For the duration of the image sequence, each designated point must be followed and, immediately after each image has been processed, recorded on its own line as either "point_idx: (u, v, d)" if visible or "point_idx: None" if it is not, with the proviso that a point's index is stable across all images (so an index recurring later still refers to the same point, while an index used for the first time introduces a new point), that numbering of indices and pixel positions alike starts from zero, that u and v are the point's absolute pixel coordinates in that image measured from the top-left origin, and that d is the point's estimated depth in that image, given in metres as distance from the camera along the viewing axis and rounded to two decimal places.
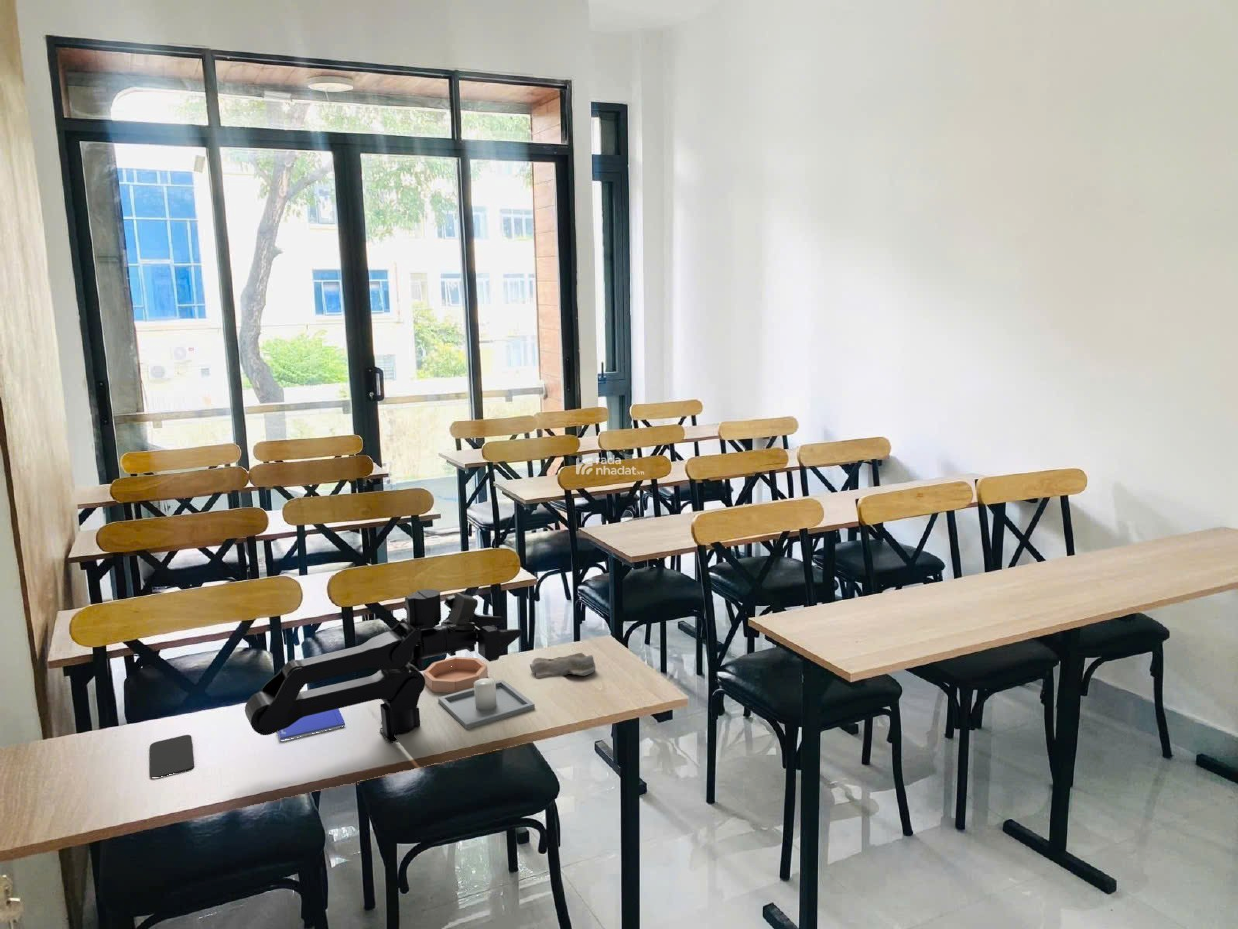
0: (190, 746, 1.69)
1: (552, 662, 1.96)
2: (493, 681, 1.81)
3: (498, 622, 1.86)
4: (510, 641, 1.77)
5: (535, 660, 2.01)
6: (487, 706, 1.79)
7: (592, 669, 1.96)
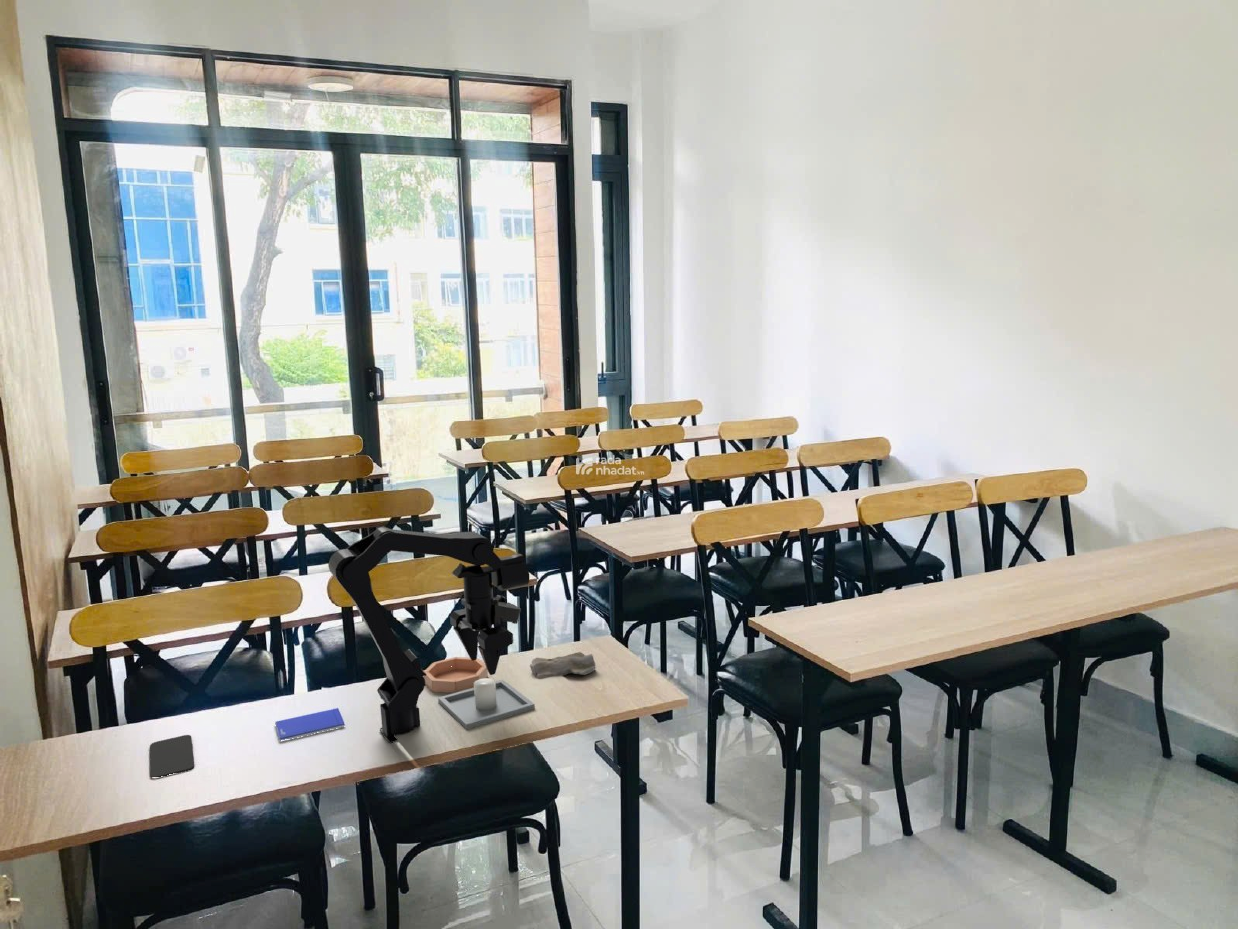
0: (190, 746, 1.69)
1: (552, 662, 1.96)
2: (493, 681, 1.81)
3: (472, 656, 1.83)
4: (488, 663, 1.74)
5: (534, 660, 2.00)
6: (487, 706, 1.79)
7: (592, 668, 1.97)
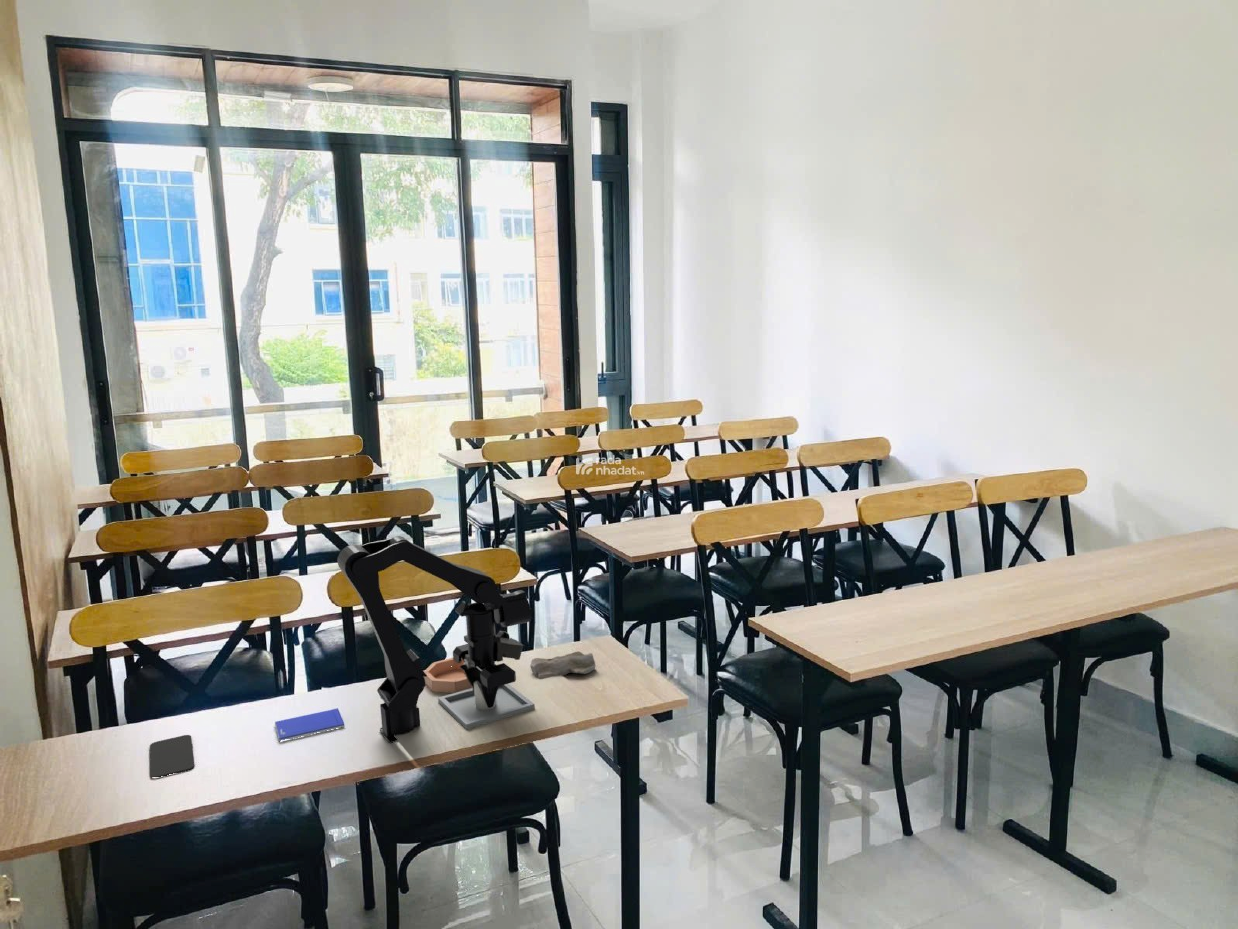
0: (190, 746, 1.69)
1: (553, 662, 1.96)
2: None
3: None
4: (486, 696, 1.77)
5: (534, 660, 2.00)
6: None
7: (593, 667, 1.97)
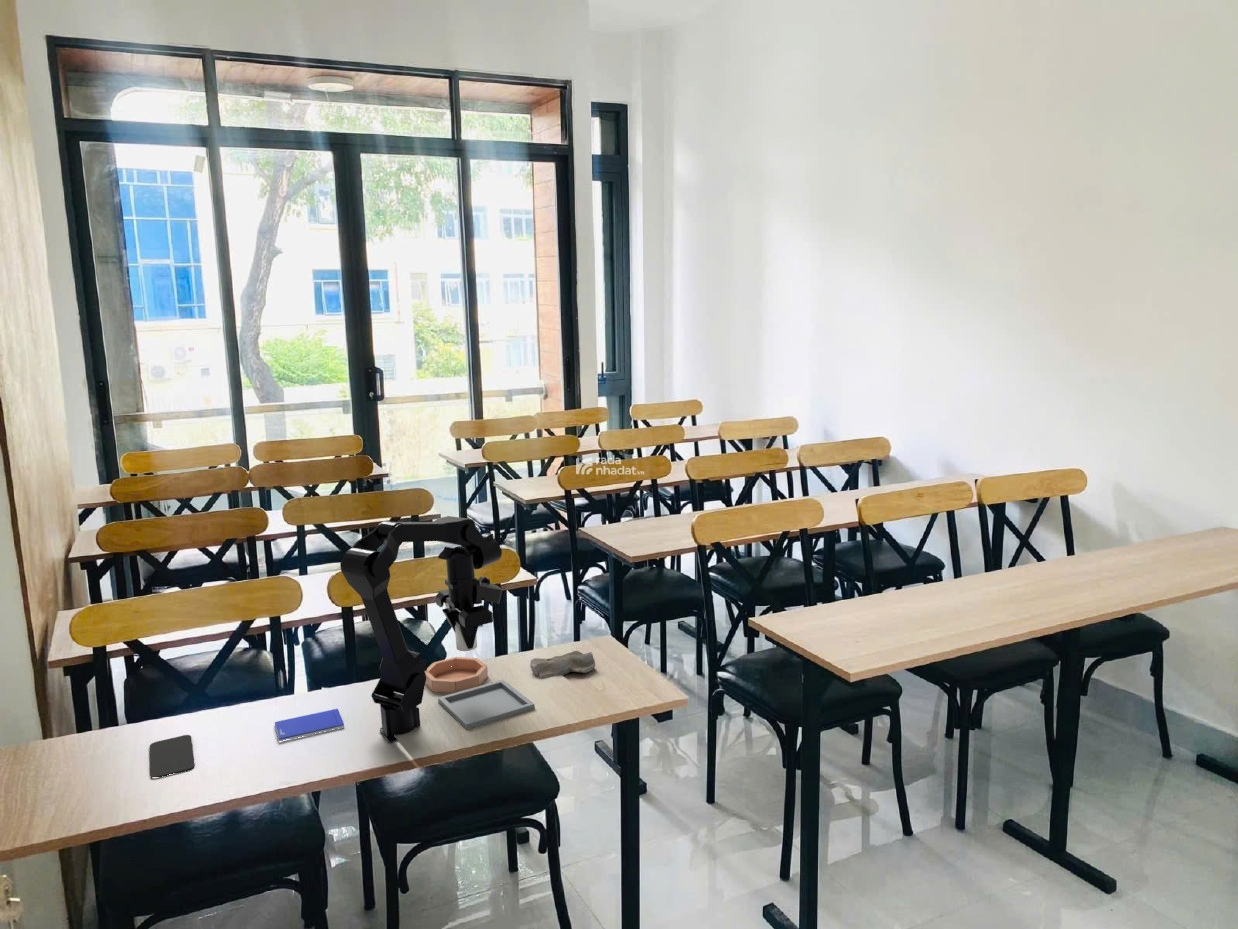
0: (190, 746, 1.69)
1: (553, 661, 1.96)
2: None
3: None
4: (466, 637, 1.83)
5: (533, 661, 2.00)
6: None
7: (593, 666, 1.98)
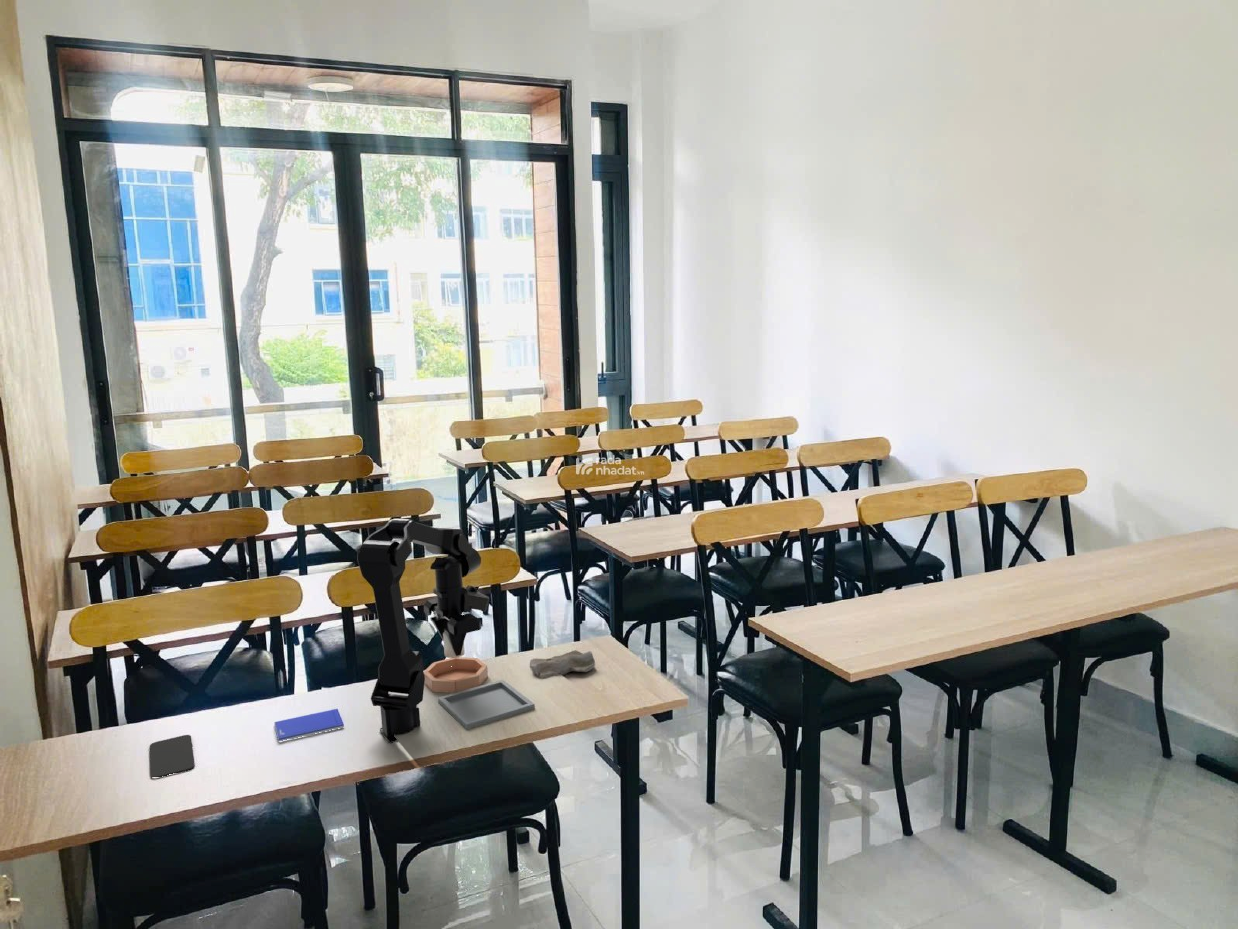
0: (190, 746, 1.69)
1: (554, 661, 1.96)
2: None
3: None
4: (454, 644, 1.89)
5: (533, 661, 2.00)
6: None
7: (593, 665, 1.99)
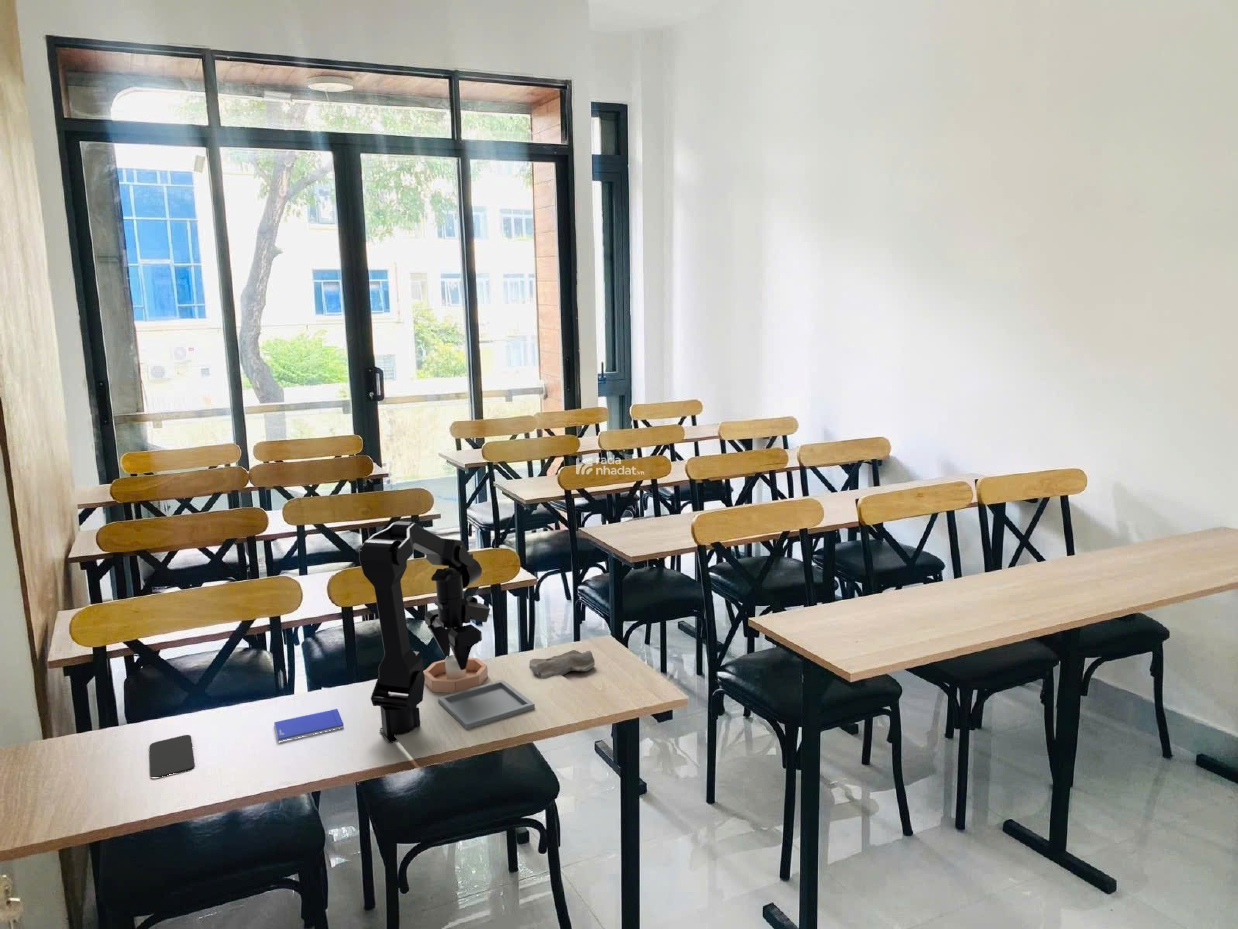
0: (190, 746, 1.69)
1: (554, 661, 1.97)
2: None
3: (445, 652, 1.97)
4: (459, 658, 1.88)
5: (532, 661, 2.00)
6: None
7: (593, 664, 1.99)
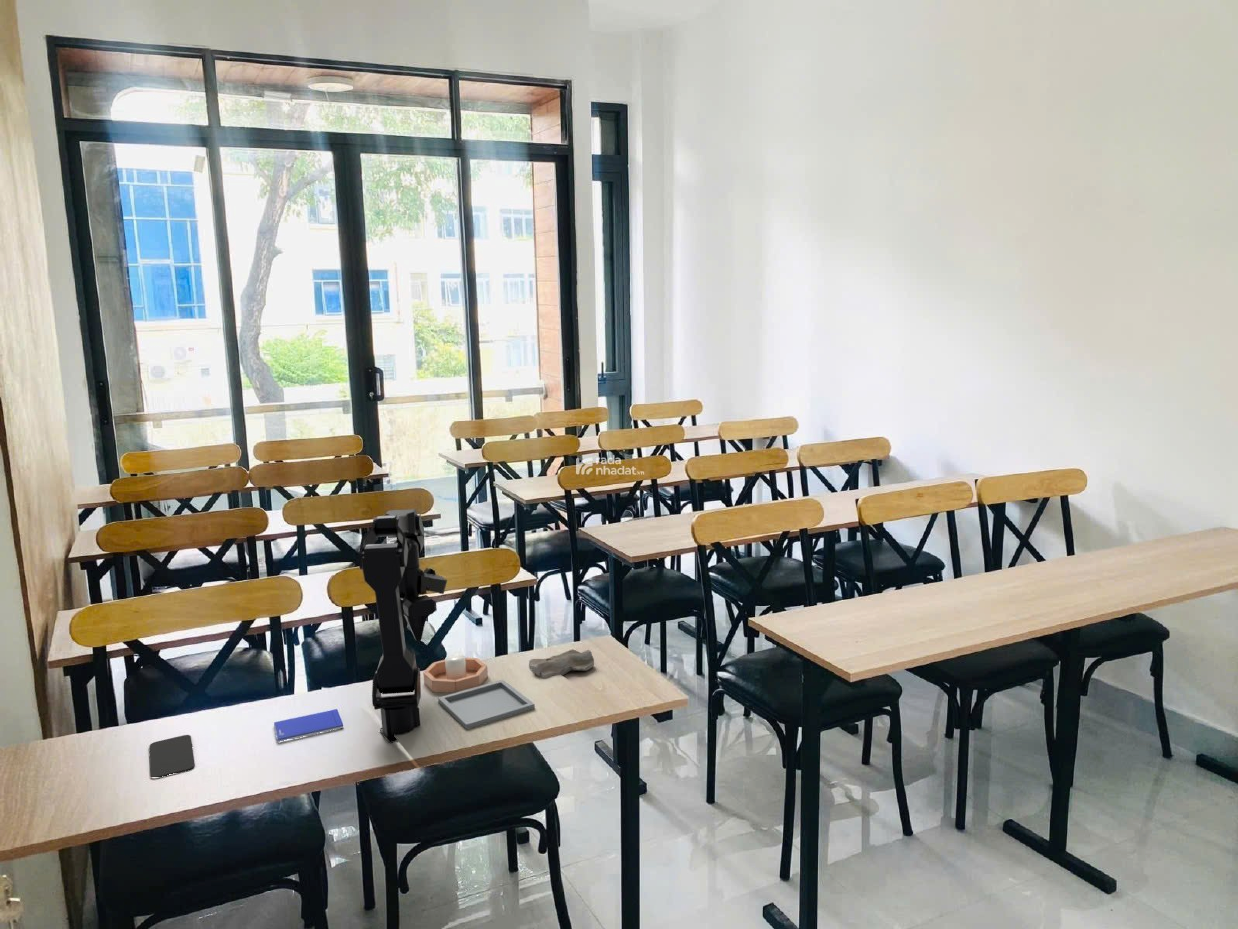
0: (190, 746, 1.69)
1: (554, 661, 1.97)
2: (463, 657, 1.94)
3: (402, 624, 1.96)
4: (414, 629, 1.87)
5: (532, 661, 2.00)
6: None
7: (593, 663, 2.00)
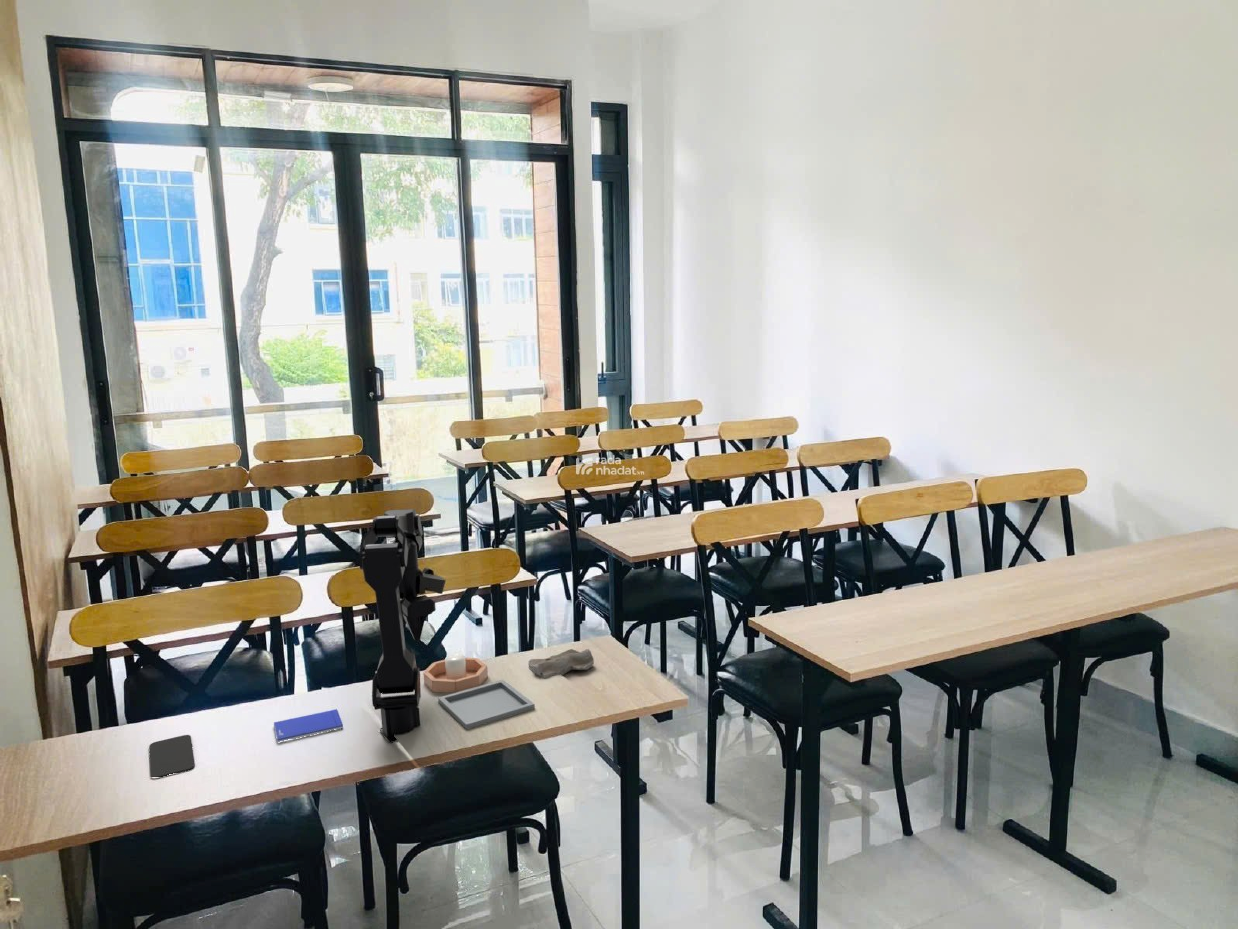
0: (190, 746, 1.69)
1: (554, 660, 1.97)
2: (463, 657, 1.94)
3: None
4: (413, 629, 1.87)
5: (531, 662, 2.00)
6: None
7: (592, 662, 2.00)
